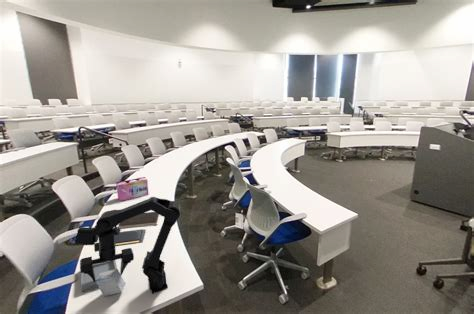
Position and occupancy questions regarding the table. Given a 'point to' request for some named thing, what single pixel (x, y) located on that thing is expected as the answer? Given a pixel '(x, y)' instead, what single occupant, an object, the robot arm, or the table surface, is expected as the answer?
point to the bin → (96, 274)
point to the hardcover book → (141, 220)
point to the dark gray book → (129, 237)
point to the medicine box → (110, 282)
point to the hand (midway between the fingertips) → (108, 277)
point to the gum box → (132, 188)
